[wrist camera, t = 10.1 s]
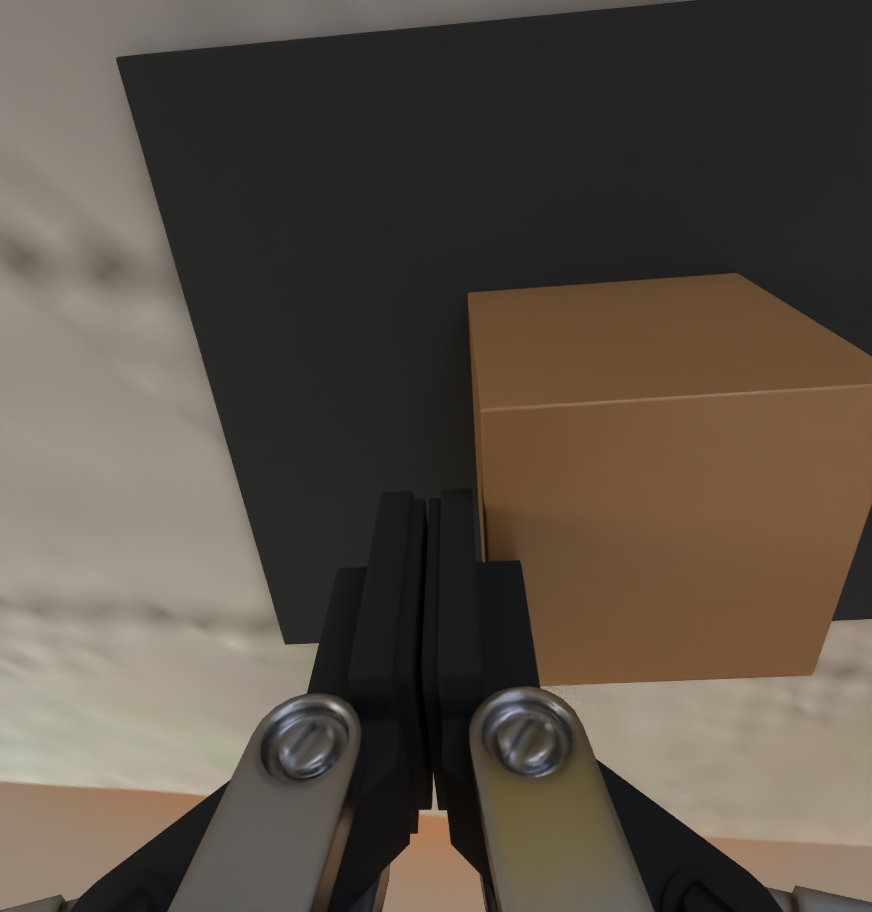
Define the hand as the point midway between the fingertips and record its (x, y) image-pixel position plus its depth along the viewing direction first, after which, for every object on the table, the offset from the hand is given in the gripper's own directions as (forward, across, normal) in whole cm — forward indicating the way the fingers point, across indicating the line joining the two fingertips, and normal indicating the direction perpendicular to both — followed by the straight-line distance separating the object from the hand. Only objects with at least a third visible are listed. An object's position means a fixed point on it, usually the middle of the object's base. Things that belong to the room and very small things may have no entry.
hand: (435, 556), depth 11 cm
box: (+2, -1, 0) cm, 2 cm away
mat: (+6, -7, 0) cm, 9 cm away
